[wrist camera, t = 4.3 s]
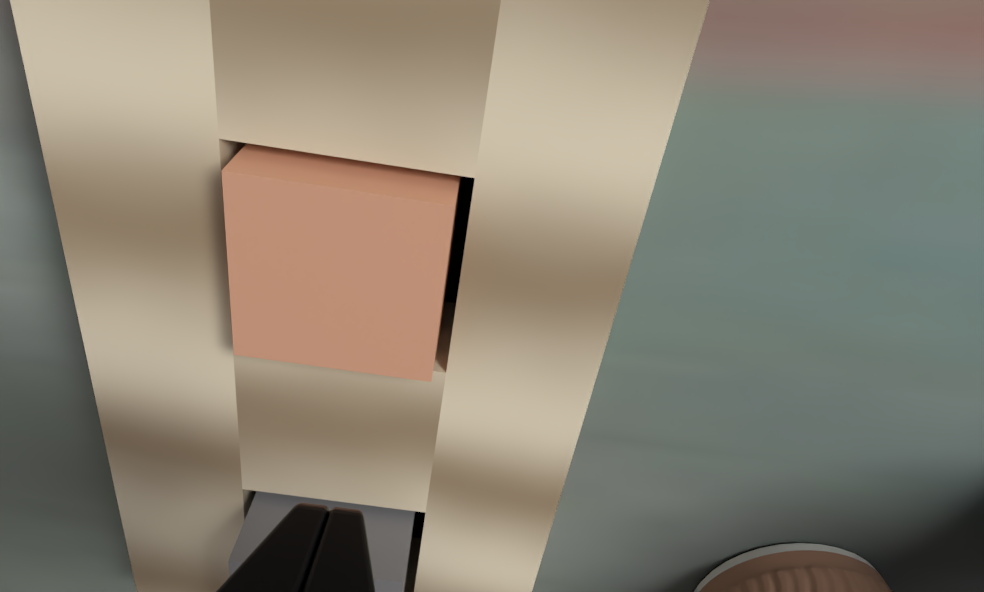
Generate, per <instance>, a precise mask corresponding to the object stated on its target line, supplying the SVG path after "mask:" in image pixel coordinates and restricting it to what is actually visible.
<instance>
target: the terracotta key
mask: <svg viewBox="0 0 984 592" xmlns="http://www.w3.org/2000/svg"><path fill="white" fill-rule="evenodd" d="M221 173H222V187H223V202H224V217H225V232H226V247H227V262H228V277H229V292H230V307H231V322H232V336H233V351H234V355H239V356H246V357H254V358H261V359H268V360H275V361H283V362H290V363H297V364H304V365H311V366H319V367H326V368H333V369H340V370H348V371H355V372H362V373H369V374H377V375H384V376H391V377H398V378H405V379H413V380H420V381H427V382H431V381H432V375H433V369H434V363H435V357H436V351H437V345H438V339H439V333H440V327H441V321H442V315H443V309H444V303H445V297H446V290H447V283H448V275H449V268H450V261H451V253H452V246H453V239H454V231H455V224H456V217H457V209H458V202H459V194H460V187H461V180H462V176H457V175H451V174H444V173H438V172H431V171H425V170H418V169H412V168H405V167H399V166H392V165H386V164H379V163H373V162H366V161H360V160H353V159H347V158H340V157H334V156H327V155H321V154H314V153H308V152H302V151H295V150H289V149H282V148H276V147H269V146H263V145H256V144H250V143H246V145H245V146H244V147H243V148H242V149H241V150H240V151H239V152H238V153H237V154H236V155H235V156H234V157H233V159H232V160H231V161H230V162H229V163H228V164H227V165H226V166H225V167H224V168H223V169H222V170H221Z"/></svg>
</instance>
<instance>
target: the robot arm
mask: <svg viewBox="0 0 984 592" xmlns="http://www.w3.org/2000/svg"><path fill="white" fill-rule="evenodd" d="M216 592H375V585H374V579H373V572H372V565H371V559H370V552H369V545H368V539H367V532H366V525H365V519H364V514H363V512H362V511H361V510H358V509H350V508H343V507H334V508H332V509H331V510H330V509H329V507H328V506H325V505H319V504H311V503H299V504H297V505H295V506H294V507H293V508H292V509H291V510H290V511H289V512H288V513H287V514H286V516H285V517H284V518H283V519H282V520H281V521H280V522H279V523H278V524H277V525H276V526H275V528H274V529H273V530H272V531H271V532H270V533H269V534H268V535H267V536H266V537H265V539H264V540H263V541H262V542H261V543H260V544H259V545H258V546H257V547H256V548H255V549H254V551H253V552H252V553H251V554H250V555H249V556H248V557H247V558H246V559H245V560H244V561H243V563H242V564H241V565H240V566H239V567H238V568H237V569H236V570H235V571H234V572H233V573H232V575H231V576H230V577H229V578H228V579H227V580H226V581H225V582H224V583H223V584H222V586H221V587H220V588H219V589H218V590H217V591H216Z"/></svg>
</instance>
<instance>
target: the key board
mask: <svg viewBox="0 0 984 592" xmlns="http://www.w3.org/2000/svg"><path fill="white" fill-rule="evenodd" d="M709 2H710V0H10V3H11V7H12V12H13V17H14V21H15V26H16V31H17V35H18V40H19V45H20V49H21V54H22V59H23V63H24V68H25V73H26V77H27V82H28V87H29V91H30V96H31V101H32V105H33V110H34V115H35V119H36V124H37V129H38V133H39V138H40V143H41V147H42V152H43V157H44V161H45V166H46V171H47V175H48V180H49V185H50V189H51V194H52V199H53V203H54V208H55V213H56V217H57V222H58V227H59V231H60V236H61V241H62V245H63V250H64V255H65V259H66V264H67V269H68V273H69V278H70V283H71V287H72V292H73V297H74V301H75V306H76V311H77V315H78V320H79V325H80V329H81V334H82V339H83V343H84V348H85V353H86V357H87V362H88V367H89V371H90V376H91V381H92V385H93V390H94V395H95V399H96V404H97V409H98V413H99V418H100V423H101V427H102V432H103V437H104V441H105V446H106V451H107V455H108V460H109V465H110V469H111V474H112V479H113V483H114V488H115V492H116V497H117V502H118V506H119V511H120V516H121V520H122V525H123V530H124V534H125V539H126V544H127V548H128V553H129V558H130V562H131V567H132V572H133V576H134V581H135V586H136V590H137V592H216V591H217V590H218V589H219V588H220V587H221V586H222V584H223V583H224V582H225V581H226V580H227V579H228V578H229V566H228V560H229V558H230V555H231V553H232V550H233V548H234V545H235V543H236V540H237V538H238V536H239V533H240V531H241V528H242V526H243V523H244V521H245V518H246V516H247V514H248V511H249V509H250V506H251V504H252V501H253V499H254V497H255V494H256V492H257V491H261V492H269V493H276V494H284V495H292V496H300V497H308V498H315V499H323V500H331V501H339V502H346V503H354V504H362V505H370V506H378V507H385V508H393V509H401V510H409V511H417V512H424V513H425V518H424V524H423V531H422V538H419V537H412V542H411V550H410V557H409V564H408V571H407V578H406V584H405V590H404V592H532V589H533V586H534V583H535V579H536V576H537V573H538V570H539V566H540V563H541V560H542V556H543V553H544V550H545V546H546V543H547V540H548V536H549V533H550V530H551V526H552V523H553V520H554V516H555V513H556V510H557V506H558V503H559V500H560V496H561V493H562V490H563V486H564V483H565V480H566V477H567V473H568V470H569V467H570V463H571V460H572V457H573V453H574V450H575V447H576V443H577V440H578V437H579V433H580V430H581V427H582V423H583V420H584V417H585V413H586V410H587V407H588V403H589V400H590V397H591V393H592V390H593V387H594V384H595V380H596V377H597V374H598V370H599V367H600V364H601V360H602V357H603V354H604V350H605V347H606V344H607V340H608V337H609V334H610V330H611V327H612V324H613V320H614V317H615V314H616V310H617V307H618V304H619V300H620V297H621V294H622V291H623V287H624V284H625V281H626V277H627V274H628V271H629V267H630V264H631V261H632V257H633V254H634V251H635V247H636V244H637V241H638V237H639V234H640V231H641V227H642V224H643V221H644V217H645V214H646V211H647V207H648V204H649V201H650V198H651V194H652V191H653V188H654V184H655V181H656V178H657V174H658V171H659V168H660V164H661V161H662V158H663V154H664V151H665V148H666V144H667V141H668V138H669V134H670V131H671V128H672V124H673V121H674V118H675V114H676V111H677V108H678V104H679V101H680V98H681V95H682V91H683V88H684V85H685V81H686V78H687V75H688V71H689V68H690V65H691V61H692V58H693V55H694V51H695V48H696V45H697V41H698V38H699V35H700V31H701V28H702V25H703V21H704V18H705V15H706V11H707V8H708V5H709ZM246 143H250V144H256V145H263V146H269V147H276V148H282V149H289V150H295V151H302V152H308V153H314V154H321V155H327V156H334V157H340V158H347V159H353V160H360V161H366V162H373V163H379V164H386V165H392V166H399V167H405V168H412V169H418V170H425V171H431V172H438V173H444V174H451V175H457V176H464V177H470V178H474V184H473V191H472V198H471V204H470V211H469V218H468V225H467V232H466V238H465V245H464V252H463V259H462V266H461V273H460V279H459V286H458V293H457V300H456V303H453V302H446V301H445V303H444V309H443V315H442V321H441V327H440V333H439V339H438V345H437V351H436V357H435V363H434V369H433V375H432V381H431V382H427V381H420V380H413V379H405V378H398V377H391V376H384V375H377V374H369V373H362V372H355V371H348V370H340V369H333V368H326V367H319V366H311V365H304V364H297V363H290V362H283V361H275V360H268V359H261V358H254V357H246V356H239V355H234V351H233V336H232V322H231V307H230V292H229V277H228V262H227V247H226V232H225V217H224V202H223V187H222V173H221V170H222V169H223V168H224V167H225V166H226V165H227V164H228V163H229V162H230V161H231V160H232V159H233V157H234V156H235V155H236V154H237V153H238V152H239V151H240V150H241V149H242V148H243V147H244V146H245V145H246Z"/></svg>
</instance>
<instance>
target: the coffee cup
mask: <svg viewBox="0 0 984 592" xmlns="http://www.w3.org/2000/svg"><path fill="white" fill-rule="evenodd" d="M694 592H893V591H891V589H890V588H889V586H888V585H887V583H886V582H885V580H884V579H883V577H882V576H881V575H880V574H879V573H878V571H877V570H876V569H875V568H874V567H873V566H872V565H871V564H870V563H869V562H868V561H866V560H865V559H863V558H861V557H860V556H858V555H856V554H854V553H852V552H849V551H846V550H843V549H841V548H837V547H832V546H827V545H822V544H813V543H790V544H778V545H773V546H768V547H763V548H759V549H755V550H752V551H749V552H746V553H743V554H741V555H739V556H736V557H734V558H732V559H730V560H728V561H726V562H724V563H723V564H721V565H720V566H718V567H717V568H715V569H714V570H713V571H711V572H710V573H709V574H708V575H707V576H706V577H705V578H704V579H703V580H702V581H701V582H700V583H699V585H698V586H697V588H696V589H695V591H694Z"/></svg>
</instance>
